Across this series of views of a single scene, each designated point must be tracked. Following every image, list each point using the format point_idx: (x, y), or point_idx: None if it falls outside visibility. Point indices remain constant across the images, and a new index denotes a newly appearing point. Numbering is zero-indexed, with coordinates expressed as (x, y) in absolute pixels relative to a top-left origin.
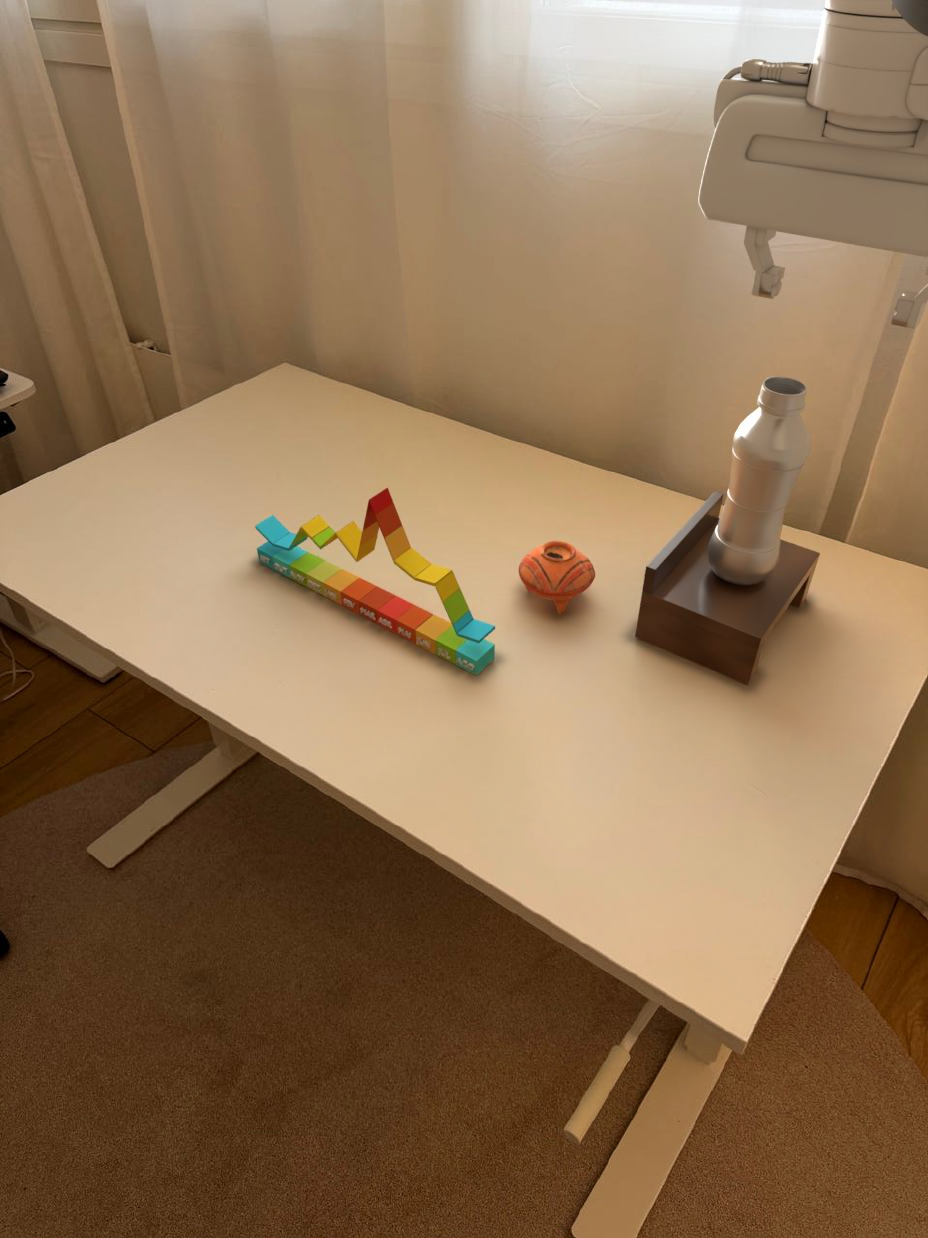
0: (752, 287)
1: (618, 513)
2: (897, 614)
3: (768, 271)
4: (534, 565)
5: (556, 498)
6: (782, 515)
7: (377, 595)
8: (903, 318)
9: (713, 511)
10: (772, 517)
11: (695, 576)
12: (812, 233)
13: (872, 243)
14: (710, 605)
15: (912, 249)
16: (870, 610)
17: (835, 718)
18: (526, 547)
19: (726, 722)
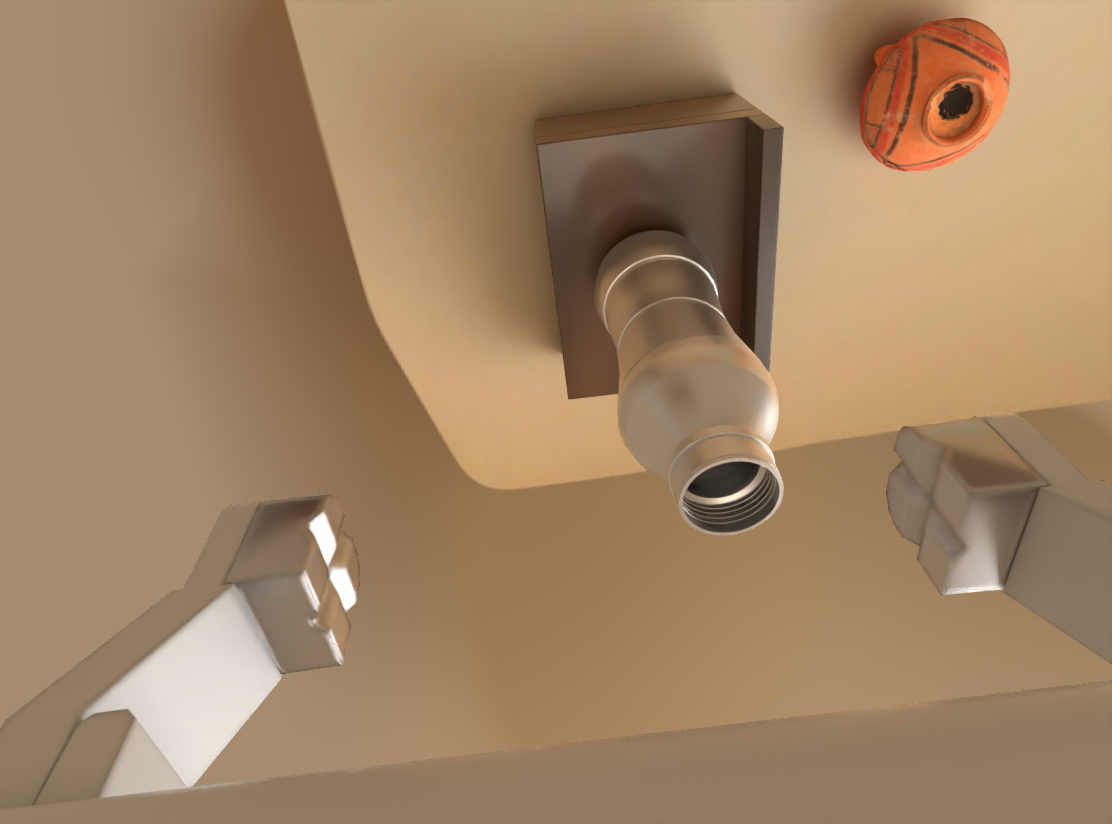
0: (1030, 426)
1: (893, 349)
2: (452, 402)
3: (1015, 512)
4: (983, 52)
5: (1006, 318)
6: (616, 340)
7: None
8: (270, 514)
9: None
10: (625, 317)
11: (703, 218)
12: (950, 718)
13: (459, 778)
14: (646, 164)
15: (141, 817)
16: (483, 388)
17: (401, 148)
18: (1006, 171)
19: (517, 13)
